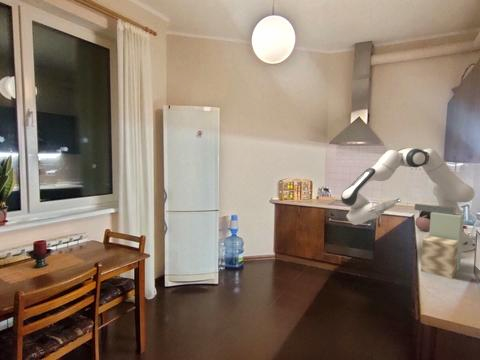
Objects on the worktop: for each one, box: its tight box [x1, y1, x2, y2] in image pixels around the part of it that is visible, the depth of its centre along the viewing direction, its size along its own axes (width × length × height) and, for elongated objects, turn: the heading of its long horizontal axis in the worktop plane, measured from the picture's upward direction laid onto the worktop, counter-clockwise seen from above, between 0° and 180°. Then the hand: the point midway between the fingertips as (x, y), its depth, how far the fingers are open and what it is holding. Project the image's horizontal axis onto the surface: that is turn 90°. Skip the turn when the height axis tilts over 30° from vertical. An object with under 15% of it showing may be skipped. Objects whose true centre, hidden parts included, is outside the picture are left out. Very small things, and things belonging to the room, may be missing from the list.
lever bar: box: [414, 203, 456, 215], centre depth 151 cm, size 17×5×3 cm, turn 46°
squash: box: [418, 211, 432, 219], centre depth 243 cm, size 14×15×15 cm
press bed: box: [420, 235, 458, 279], centre depth 140 cm, size 12×10×15 cm
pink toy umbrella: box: [414, 215, 430, 232], centre depth 221 cm, size 12×12×12 cm
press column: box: [428, 212, 465, 272], centre depth 148 cm, size 12×10×26 cm
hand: (397, 200), depth 163 cm, fingers open, 8 cm apart
